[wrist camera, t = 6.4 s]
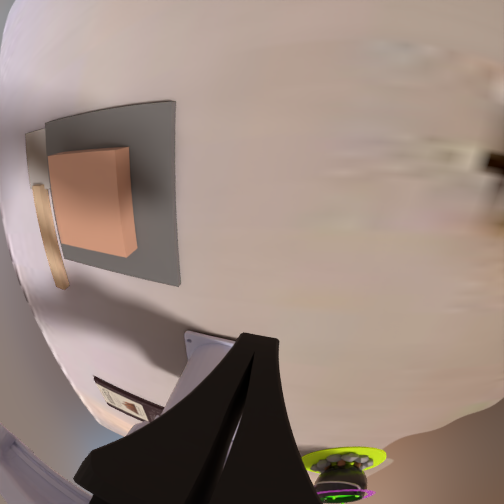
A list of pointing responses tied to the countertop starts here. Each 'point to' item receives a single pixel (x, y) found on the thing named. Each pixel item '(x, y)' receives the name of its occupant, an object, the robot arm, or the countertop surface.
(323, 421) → the countertop surface
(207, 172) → the countertop surface
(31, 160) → the turner
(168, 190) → the mat
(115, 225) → the tile
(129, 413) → the chocolate bar
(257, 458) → the robot arm
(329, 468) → the toy cauldron
